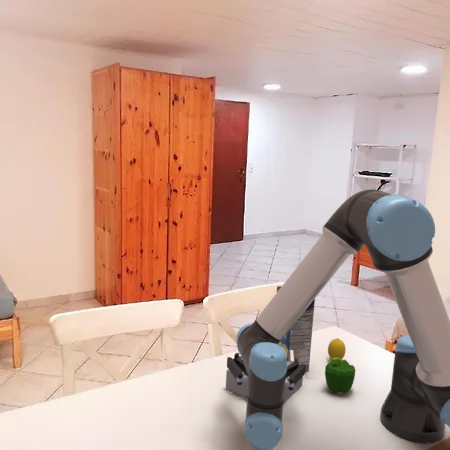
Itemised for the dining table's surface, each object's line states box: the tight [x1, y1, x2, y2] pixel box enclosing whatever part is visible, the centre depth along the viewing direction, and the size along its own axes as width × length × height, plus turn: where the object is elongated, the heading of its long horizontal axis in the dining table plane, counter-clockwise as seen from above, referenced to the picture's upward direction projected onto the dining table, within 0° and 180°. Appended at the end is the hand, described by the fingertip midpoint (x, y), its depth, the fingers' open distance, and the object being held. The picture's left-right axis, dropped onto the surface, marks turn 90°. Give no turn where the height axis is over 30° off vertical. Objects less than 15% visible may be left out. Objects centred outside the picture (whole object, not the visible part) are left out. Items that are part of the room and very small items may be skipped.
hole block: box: [225, 361, 304, 404], centre depth 128 cm, size 16×16×6 cm
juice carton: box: [276, 285, 316, 373], centre depth 141 cm, size 12×8×24 cm, turn 16°
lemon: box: [327, 338, 346, 360], centre depth 146 cm, size 6×6×8 cm
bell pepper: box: [324, 357, 356, 395], centre depth 129 cm, size 8×8×10 cm
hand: (266, 352), depth 124 cm, fingers open, 13 cm apart
